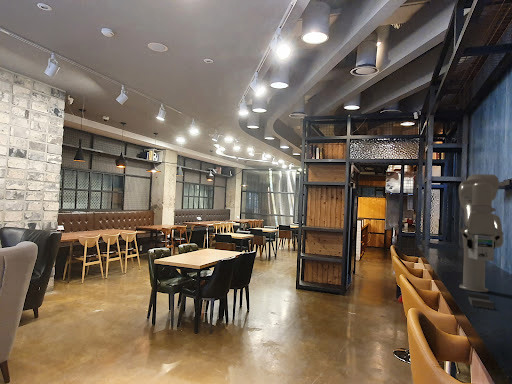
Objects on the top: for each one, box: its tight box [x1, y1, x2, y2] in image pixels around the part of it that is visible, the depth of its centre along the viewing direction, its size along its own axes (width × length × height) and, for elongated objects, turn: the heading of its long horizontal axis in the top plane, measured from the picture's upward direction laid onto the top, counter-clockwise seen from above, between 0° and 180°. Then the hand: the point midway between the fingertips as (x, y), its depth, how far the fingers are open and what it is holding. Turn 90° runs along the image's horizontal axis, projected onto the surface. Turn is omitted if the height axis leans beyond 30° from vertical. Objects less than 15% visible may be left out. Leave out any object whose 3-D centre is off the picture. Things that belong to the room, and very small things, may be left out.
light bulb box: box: [468, 235, 495, 262], centre depth 158 cm, size 11×7×11 cm, turn 168°
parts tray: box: [468, 292, 495, 310], centre depth 150 cm, size 15×8×3 cm, turn 153°
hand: (480, 249), depth 158 cm, fingers closed on light bulb box, 7 cm apart
